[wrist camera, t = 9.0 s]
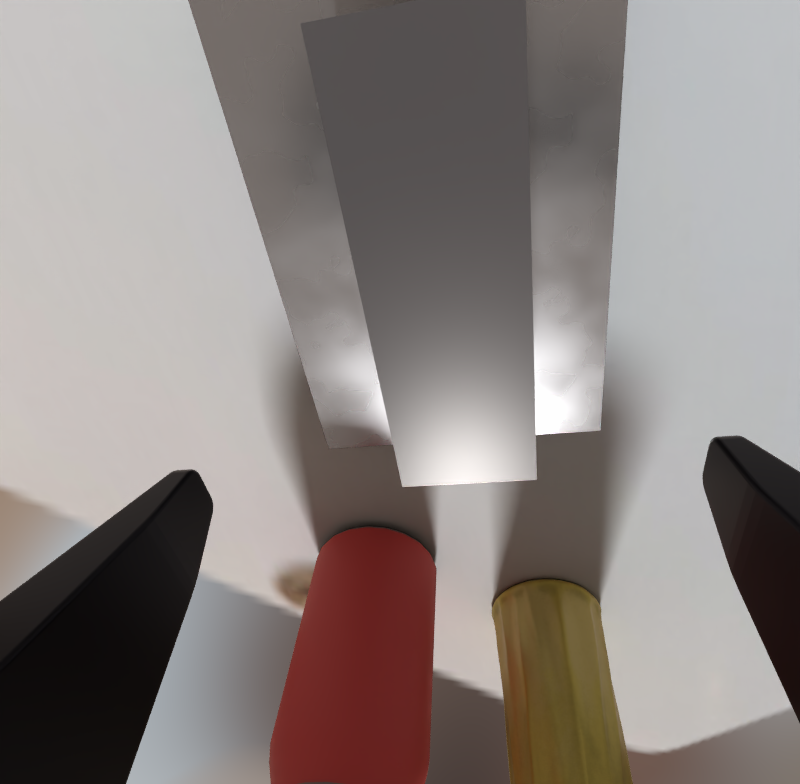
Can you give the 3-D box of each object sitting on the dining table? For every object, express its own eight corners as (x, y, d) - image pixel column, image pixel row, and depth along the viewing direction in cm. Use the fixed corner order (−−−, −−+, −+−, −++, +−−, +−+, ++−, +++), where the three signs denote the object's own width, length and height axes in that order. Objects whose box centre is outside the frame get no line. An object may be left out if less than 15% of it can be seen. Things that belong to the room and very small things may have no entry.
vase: (559, 648, 34) (612, 985, 22) (472, 618, 33) (481, 955, 21) (622, 599, 30) (724, 966, 19) (527, 563, 29) (574, 930, 18)
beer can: (325, 509, 28) (254, 776, 18) (449, 532, 28) (445, 808, 19) (314, 583, 32) (251, 836, 22) (423, 603, 32) (409, 862, 22)
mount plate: (614, -109, 14) (635, -124, 12) (590, 400, 23) (600, 430, 21) (210, -19, 15) (181, -22, 14) (337, 419, 24) (328, 448, 23)
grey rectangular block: (347, 17, 15) (300, 23, 11) (503, -14, 15) (525, -22, 10) (413, 387, 23) (402, 487, 18) (519, 379, 22) (536, 479, 17)
